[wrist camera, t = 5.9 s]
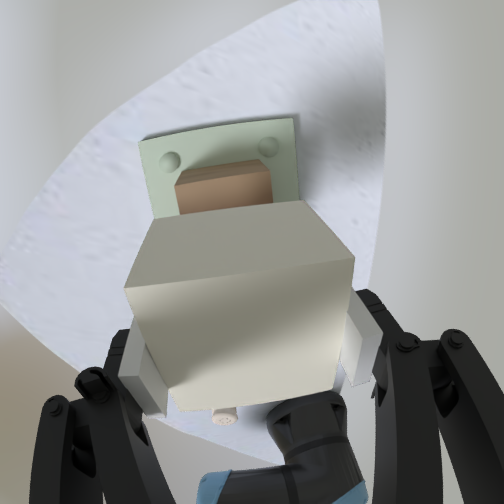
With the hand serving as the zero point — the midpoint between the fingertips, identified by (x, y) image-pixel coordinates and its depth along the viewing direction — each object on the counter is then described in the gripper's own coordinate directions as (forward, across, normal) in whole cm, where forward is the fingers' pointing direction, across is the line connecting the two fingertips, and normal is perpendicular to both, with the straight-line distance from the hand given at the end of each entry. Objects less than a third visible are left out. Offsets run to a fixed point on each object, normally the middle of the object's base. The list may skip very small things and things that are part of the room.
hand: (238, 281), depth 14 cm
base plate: (+15, 0, 0) cm, 15 cm away
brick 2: (0, 0, 0) cm, 1 cm away
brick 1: (+14, 0, 0) cm, 14 cm away
